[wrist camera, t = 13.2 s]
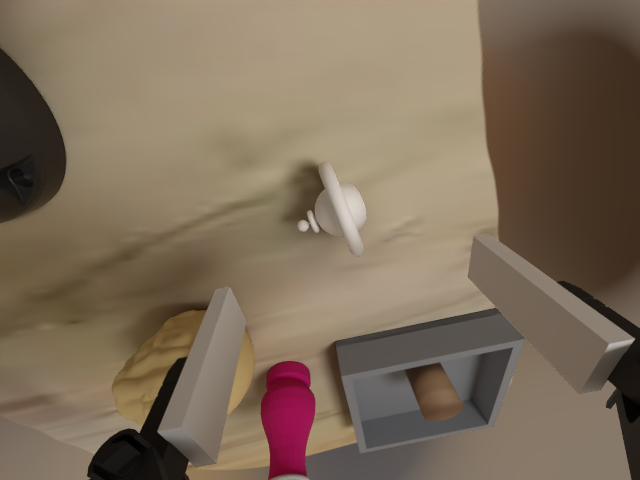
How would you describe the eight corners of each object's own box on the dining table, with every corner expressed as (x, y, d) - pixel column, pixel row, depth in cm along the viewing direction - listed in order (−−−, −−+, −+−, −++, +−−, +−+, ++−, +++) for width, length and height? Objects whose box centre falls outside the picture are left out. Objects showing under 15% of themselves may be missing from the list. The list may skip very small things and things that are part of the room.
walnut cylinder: (401, 351, 36) (423, 404, 30) (436, 344, 36) (465, 396, 30) (402, 372, 38) (422, 424, 32) (434, 365, 38) (461, 416, 32)
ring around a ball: (364, 220, 26) (390, 267, 19) (313, 241, 27) (320, 293, 20) (337, 144, 22) (358, 168, 15) (278, 170, 23) (271, 205, 16)
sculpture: (223, 279, 28) (188, 373, 19) (273, 343, 34) (267, 437, 25) (135, 315, 29) (63, 418, 20) (199, 369, 35) (166, 469, 26)
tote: (335, 341, 35) (341, 376, 31) (496, 308, 35) (525, 338, 30) (353, 419, 46) (360, 453, 42) (475, 395, 46) (494, 426, 42)
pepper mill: (268, 391, 39) (250, 624, 22) (259, 362, 36) (229, 616, 18) (314, 384, 40) (333, 609, 22) (310, 355, 36) (328, 598, 19)
